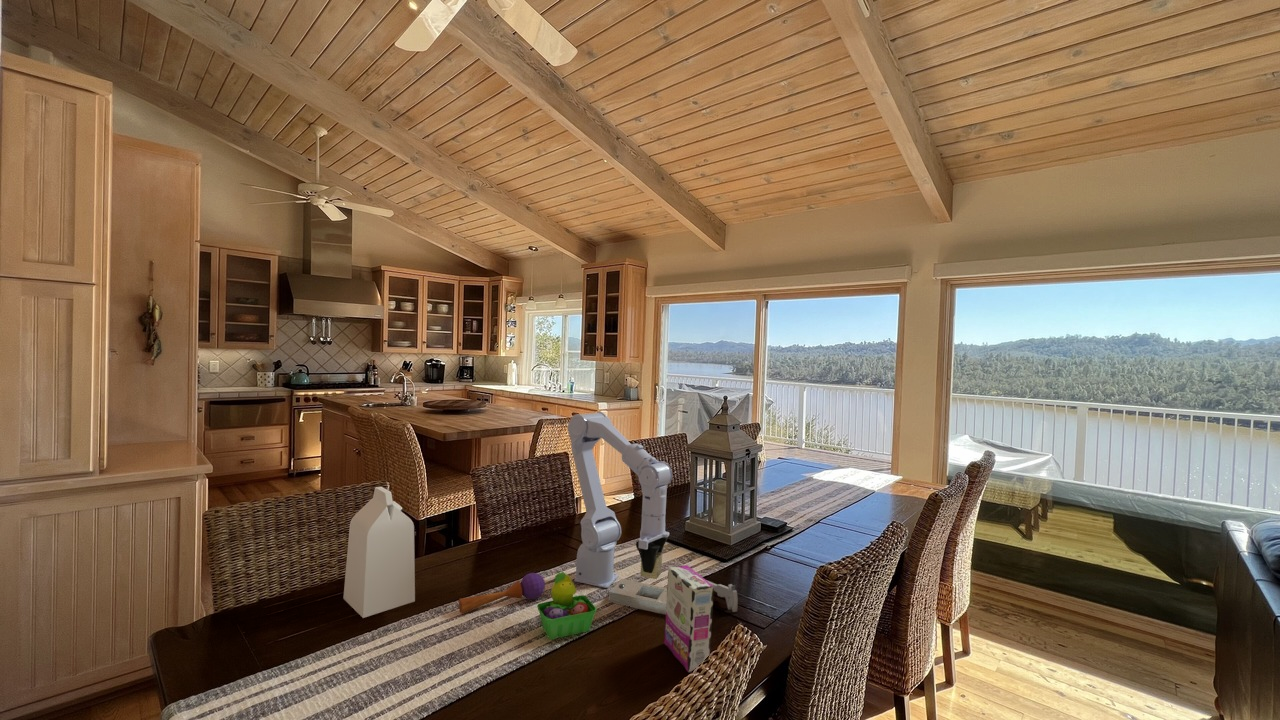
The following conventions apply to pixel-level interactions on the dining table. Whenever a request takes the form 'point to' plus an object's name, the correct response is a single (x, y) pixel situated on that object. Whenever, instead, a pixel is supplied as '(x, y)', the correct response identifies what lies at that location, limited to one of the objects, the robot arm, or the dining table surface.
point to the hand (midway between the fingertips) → (650, 568)
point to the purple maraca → (507, 593)
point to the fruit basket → (565, 610)
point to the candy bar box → (688, 616)
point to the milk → (380, 557)
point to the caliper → (727, 595)
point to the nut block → (656, 569)
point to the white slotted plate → (639, 596)
